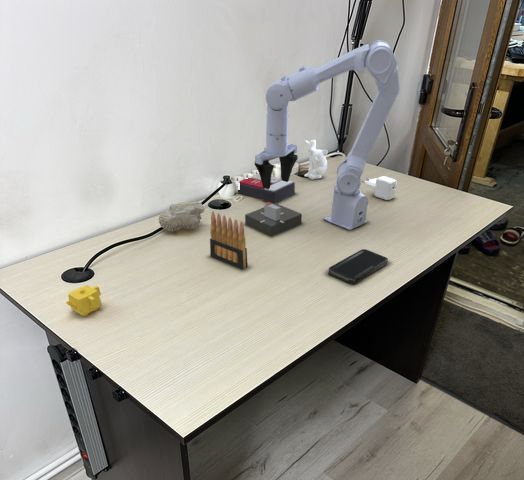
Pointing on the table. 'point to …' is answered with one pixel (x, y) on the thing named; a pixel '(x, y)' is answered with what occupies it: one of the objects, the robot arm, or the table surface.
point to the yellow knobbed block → (84, 299)
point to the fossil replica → (181, 216)
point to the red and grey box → (272, 195)
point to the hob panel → (273, 221)
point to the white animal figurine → (316, 161)
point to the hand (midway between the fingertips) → (275, 184)
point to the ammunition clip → (228, 242)
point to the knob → (272, 211)
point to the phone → (357, 266)
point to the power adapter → (382, 187)
